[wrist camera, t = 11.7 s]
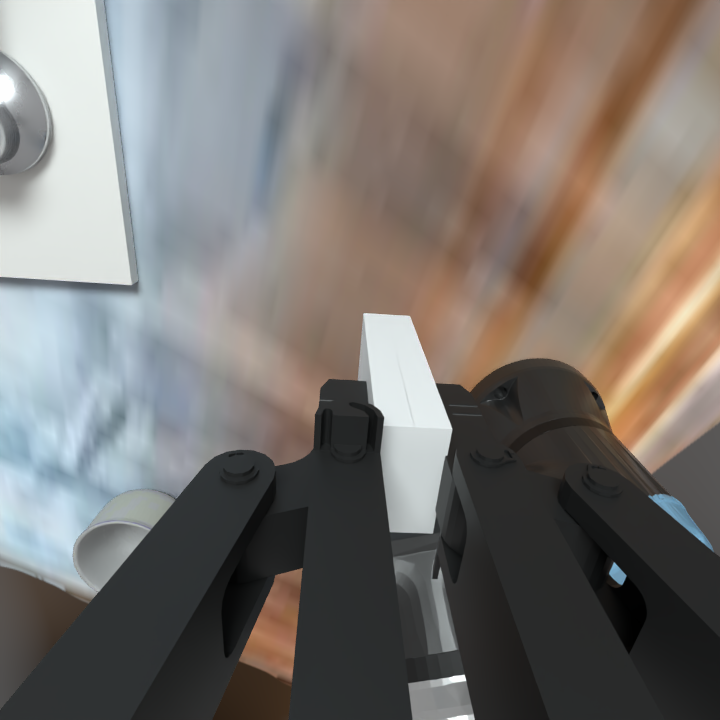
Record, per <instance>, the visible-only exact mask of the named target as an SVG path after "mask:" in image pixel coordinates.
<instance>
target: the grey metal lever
mask: <svg viewBox="0 0 720 720" xmlns="http://www.w3.org/2000/svg"><path fill="white" fill-rule="evenodd" d="M51 132H52V128H51V117H50V112H49V109H48V105H47V103H46V100H45V97H44V95H43V93H42V91H41V90H40V88H39V86H38V85H37V83H36V82H35V80H34V79H33V78H32V76H31V75H30V74H29V72H28V71H27V70H26V69H25V68H24V67H23V66H22V65H21V64H19V63H18V62H17V61H16V60H15V59H13V58H12V57H11V56H9V55H8V54H6V53H4V52H3V51H1V50H0V175H12V174H18V173H22V172H25V171H28V170H29V169H31V168H33V167H34V166H35V165H37V164H38V163H39V162H40V161H41V160H42V159H43V157H44V155H45V154H46V152H47V150H48V147H49V144H50V140H51Z"/></svg>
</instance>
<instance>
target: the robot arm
mask: <svg viewBox="0 0 720 720" xmlns="http://www.w3.org/2000/svg"><path fill="white" fill-rule="evenodd" d="M300 568H303V571H302V581H301V592H300V603H299V614H298V625H297V635H296V646H295V657H294V668H293V679H292V689H291V702H290V711H289V720H720V557H719V556H718V555H717V554H715V553H714V551H713V549H712V546H711V544H710V543H709V541H708V540H707V538H706V537H705V535H704V534H703V533H702V532H701V530H700V529H699V528H698V527H697V525H696V524H695V522H694V521H693V520H692V519H691V517H690V516H689V515H688V513H687V511H686V509H685V507H684V506H683V505H682V503H681V502H679V501H678V500H677V499H675V498H674V497H673V496H671V495H670V494H669V493H668V492H667V491H666V490H665V488H664V487H663V486H662V485H661V484H660V483H659V482H658V481H657V480H656V479H655V478H654V477H653V476H652V475H651V474H650V472H649V471H648V470H647V469H646V468H645V467H644V466H643V465H642V464H641V463H640V462H639V461H638V460H637V459H636V458H635V456H634V455H633V454H632V453H631V452H630V451H629V450H628V449H627V448H626V447H625V446H624V445H623V444H622V443H621V442H620V440H618V438H617V437H616V436H615V435H614V434H613V433H612V429H611V426H610V423H609V420H608V416H607V413H606V410H605V406H604V403H603V400H602V398H601V396H600V394H599V393H598V391H597V390H596V388H595V387H594V386H593V385H592V384H591V383H590V382H589V381H588V380H587V379H586V378H585V377H584V376H583V375H582V374H581V373H580V372H579V371H578V370H576V369H575V368H573V367H571V366H570V365H568V364H565V363H563V362H560V361H556V360H551V359H527V360H521V361H517V362H514V363H511V364H508V365H505V366H503V367H501V368H499V369H497V370H495V371H494V372H492V373H491V374H489V375H488V376H486V377H485V378H484V379H483V380H481V381H480V382H479V383H478V384H477V385H476V386H475V387H474V389H473V390H472V391H471V392H470V393H469V392H468V391H467V390H466V389H464V388H463V387H462V386H461V385H456V384H437V383H435V381H434V379H433V376H432V374H431V371H430V368H429V366H428V363H427V360H426V358H425V355H424V352H423V350H422V347H421V344H420V342H419V339H418V336H417V334H416V331H415V328H414V326H413V323H412V320H411V318H410V316H401V315H385V314H369V313H364V314H363V325H362V337H361V349H360V361H359V373H358V381H355V380H336V379H329V380H328V381H327V382H326V383H325V384H324V385H323V386H322V387H321V390H320V401H319V408H318V410H317V412H316V414H315V430H314V448H313V450H312V451H311V452H310V454H308V455H307V456H306V457H304V458H303V459H300V460H298V461H296V462H293V463H289V464H285V465H279V466H275V465H274V463H273V461H272V460H271V459H270V458H269V457H267V456H266V455H265V454H262V453H259V452H256V451H252V450H236V451H229V452H225V453H223V454H221V455H218V456H216V457H214V458H213V459H212V460H210V461H209V462H208V463H207V464H205V466H204V467H203V468H202V469H201V470H200V472H199V473H198V474H197V475H196V476H195V478H194V479H193V480H192V481H191V482H190V484H189V485H188V486H187V487H186V488H185V489H184V491H183V492H182V493H181V494H180V495H179V497H178V498H177V499H176V500H175V501H174V503H173V504H172V505H171V506H170V507H169V509H168V510H167V511H166V512H165V513H164V515H163V516H162V517H161V518H160V519H159V521H158V522H157V523H156V524H155V525H154V527H153V528H152V529H151V530H150V531H149V533H148V534H147V535H146V536H145V537H144V539H143V540H142V541H141V542H140V543H139V545H138V546H137V547H136V548H135V549H134V550H133V552H132V553H131V554H130V555H129V556H128V558H127V559H126V560H125V561H124V562H123V564H122V565H121V566H120V567H119V568H118V570H117V571H116V572H115V573H114V574H113V576H112V577H111V578H110V579H109V580H108V582H107V583H106V584H105V585H104V586H103V588H102V589H101V590H100V591H99V592H98V594H97V595H96V596H95V597H94V598H93V600H92V601H91V602H90V603H89V604H88V606H87V607H86V608H85V609H84V610H83V612H82V613H81V614H80V615H79V616H78V617H77V619H76V620H75V621H74V622H73V623H72V625H71V626H70V627H69V628H68V629H67V631H66V632H65V633H64V634H63V635H62V637H61V638H60V639H59V640H58V641H57V643H56V644H55V645H54V646H53V647H52V649H51V650H50V651H49V652H48V653H47V655H46V656H45V657H44V658H43V659H42V661H41V662H40V663H39V664H38V665H37V667H36V668H35V669H34V670H33V671H32V673H31V674H30V675H29V676H28V677H27V679H26V680H25V681H24V683H22V685H21V686H20V687H19V688H18V689H17V690H16V692H15V693H14V694H13V695H12V696H11V698H10V699H9V700H8V701H7V702H6V704H5V705H4V706H3V707H2V708H1V710H0V720H212V718H213V716H214V714H215V712H216V709H217V707H218V705H219V703H220V701H221V698H222V696H223V694H224V692H225V690H226V687H227V685H228V683H229V680H230V678H231V676H232V674H233V671H234V669H235V667H236V665H237V663H238V661H239V658H240V656H241V654H242V652H243V649H244V647H245V645H246V643H247V641H248V638H249V636H250V634H251V632H252V629H253V627H254V625H255V623H256V620H257V618H258V616H259V614H260V612H261V609H262V607H263V605H264V603H265V600H266V598H267V596H268V594H269V592H270V589H271V587H272V585H273V583H274V578H275V575H277V574H281V573H285V572H289V571H293V570H297V569H300Z"/></svg>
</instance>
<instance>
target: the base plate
mask: <svg viewBox="0 0 720 720" xmlns="http://www.w3.org/2000/svg"><path fill="white" fill-rule="evenodd" d="M0 50H1V51H3V52H4V53H6V54H8V55H9V56H11V57H12V58H13V59H15V60H16V61H17V62H18V63H19V64H21V65H22V66H23V67H24V68H25V69H26V70H27V71H28V72H29V74H30V75H31V76H32V78H33V79H34V80H35V82H36V83H37V85H38V86H39V88H40V90H41V91H42V93H43V95H44V97H45V100H46V103H47V105H48V109H49V112H50V117H51V128H52V132H51V140H50V144H49V147H48V150H47V152H46V154H45V155H44V157H43V159H42V160H41V161H40V162H39V163H38V164H37V165H35V166H34V167H33V168H31V169H29V170H28V171H25V172H22V173H18V174H12V175H0V277H12V278H28V279H44V280H59V281H75V282H91V283H106V284H122V285H133V284H134V283H136V282H137V281H138V273H137V265H136V257H135V249H134V241H133V233H132V225H131V217H130V208H129V200H128V192H127V184H126V176H125V168H124V160H123V152H122V144H121V136H120V128H119V119H118V111H117V103H116V95H115V87H114V79H113V71H112V63H111V55H110V47H109V39H108V30H107V22H106V14H105V6H104V0H0Z"/></svg>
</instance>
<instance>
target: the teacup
mask: <svg viewBox="0 0 720 720" xmlns="http://www.w3.org/2000/svg"><path fill="white" fill-rule="evenodd" d="M174 501H175V499H174V498H172V497H171V496H169V495H167V494H165V493H162V492H159V491H156V490H150V489H136V490H131V491H127V492H125V493H122V494H120V495H118V496H116V497H115V498H113V499H112V500H111V501H110V502H109V503H107V504H106V505H105V506H104V508H103V509H102V510H101V511H100V512H99V513H98V515H97V516H96V517H95V519H94V520H93V521H92V522H91V524H90V525H89V526H88V528H87V529H86V530H85V531H84V532H83V533H82V534H81V535H80V536H79V537H78V539H77V540H76V542H75V545H74V548H73V562H74V567H75V568H76V570H77V572H78V574H79V575H80V577H81V578H82V579H83V580H84V582H85V583H86V584H87V585H88V586H90V587H91V588H92V589H94V590H95V591H97V592H99V591H100V590H101V589H102V588H103V586H104V585H105V584H106V583H107V582H108V580H109V579H110V578H111V577H112V576H113V574H114V573H115V572H116V571H117V570H118V568H119V567H120V566H121V565H122V564H123V562H124V561H125V560H126V559H127V558H128V556H129V555H130V554H131V553H132V552H133V550H134V549H135V548H136V547H137V546H138V545H139V543H140V542H141V541H142V540H143V539H144V537H145V536H146V535H147V534H148V533H149V531H150V530H151V529H152V528H153V527H154V525H155V524H156V523H157V522H158V521H159V519H160V518H161V517H162V516H163V515H164V513H165V512H166V511H167V510H168V509H169V507H170V506H171V505H172V504H173V503H174Z"/></svg>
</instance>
